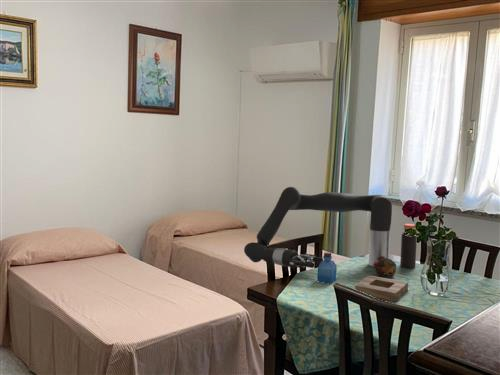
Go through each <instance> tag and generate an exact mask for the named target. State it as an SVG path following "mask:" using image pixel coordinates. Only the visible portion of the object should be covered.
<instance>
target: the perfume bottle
mask: <svg viewBox="0 0 500 375" xmlns="http://www.w3.org/2000/svg"><path fill="white" fill-rule="evenodd" d="M322 258H323V261H322V262H321V263H319V265H318V267H317V281H319V282H318V283H321V282H324V283H323V284H327V283H329V285H332V284H334V283H335V282H336V281H337V270H338V268H337V264H336V262H335V261H334V260H332V258H333V257H332V252H323V256H322Z"/></svg>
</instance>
